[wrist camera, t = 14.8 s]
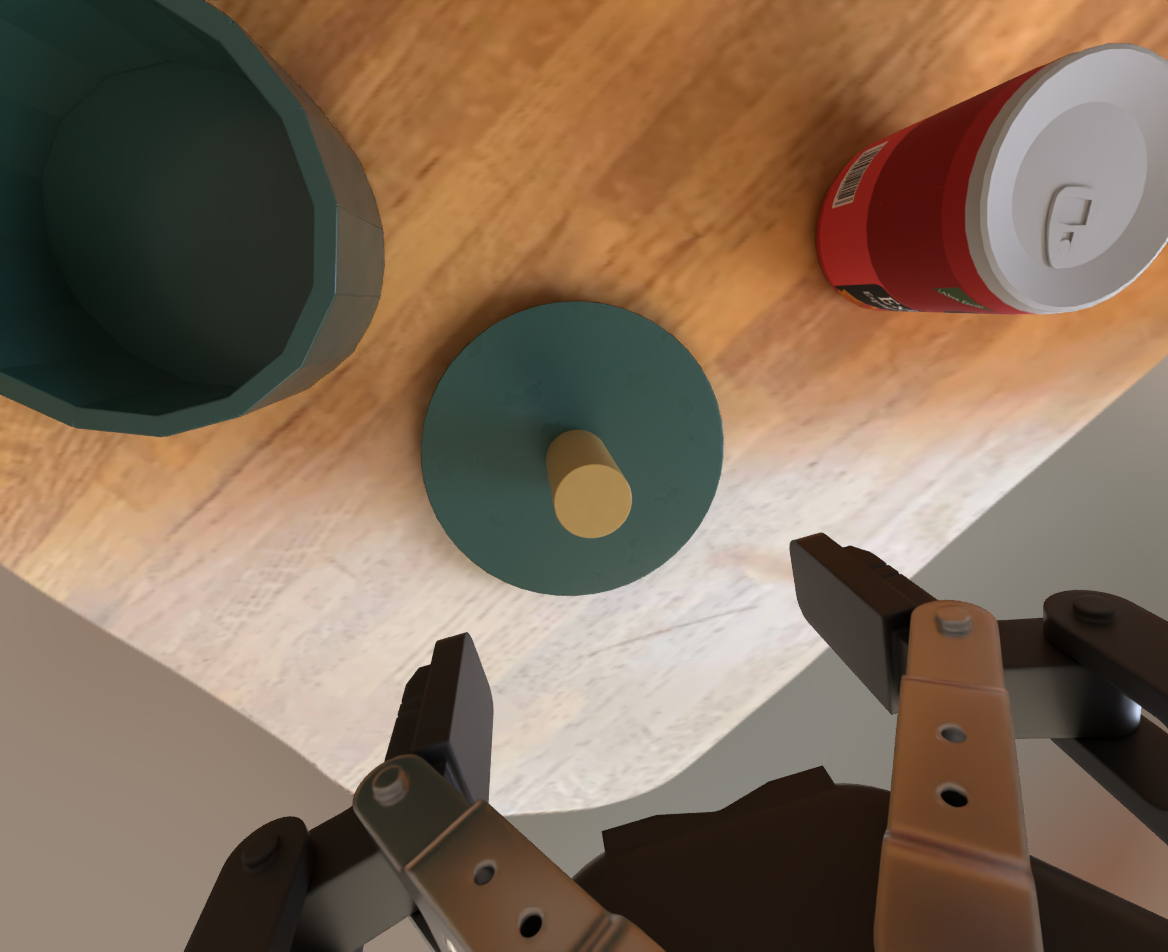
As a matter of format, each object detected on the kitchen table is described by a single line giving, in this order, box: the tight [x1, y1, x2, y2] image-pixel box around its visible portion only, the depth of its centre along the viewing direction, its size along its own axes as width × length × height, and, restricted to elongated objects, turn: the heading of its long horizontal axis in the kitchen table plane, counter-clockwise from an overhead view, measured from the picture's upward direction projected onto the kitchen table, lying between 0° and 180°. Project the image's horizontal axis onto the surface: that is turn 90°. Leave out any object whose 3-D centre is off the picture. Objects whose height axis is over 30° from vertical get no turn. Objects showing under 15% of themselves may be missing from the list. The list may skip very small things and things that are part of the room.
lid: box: [421, 301, 724, 596], centre depth 27 cm, size 16×16×8 cm
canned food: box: [816, 43, 1168, 314], centre depth 24 cm, size 8×8×11 cm
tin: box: [0, 0, 385, 437], centre depth 22 cm, size 15×15×8 cm
